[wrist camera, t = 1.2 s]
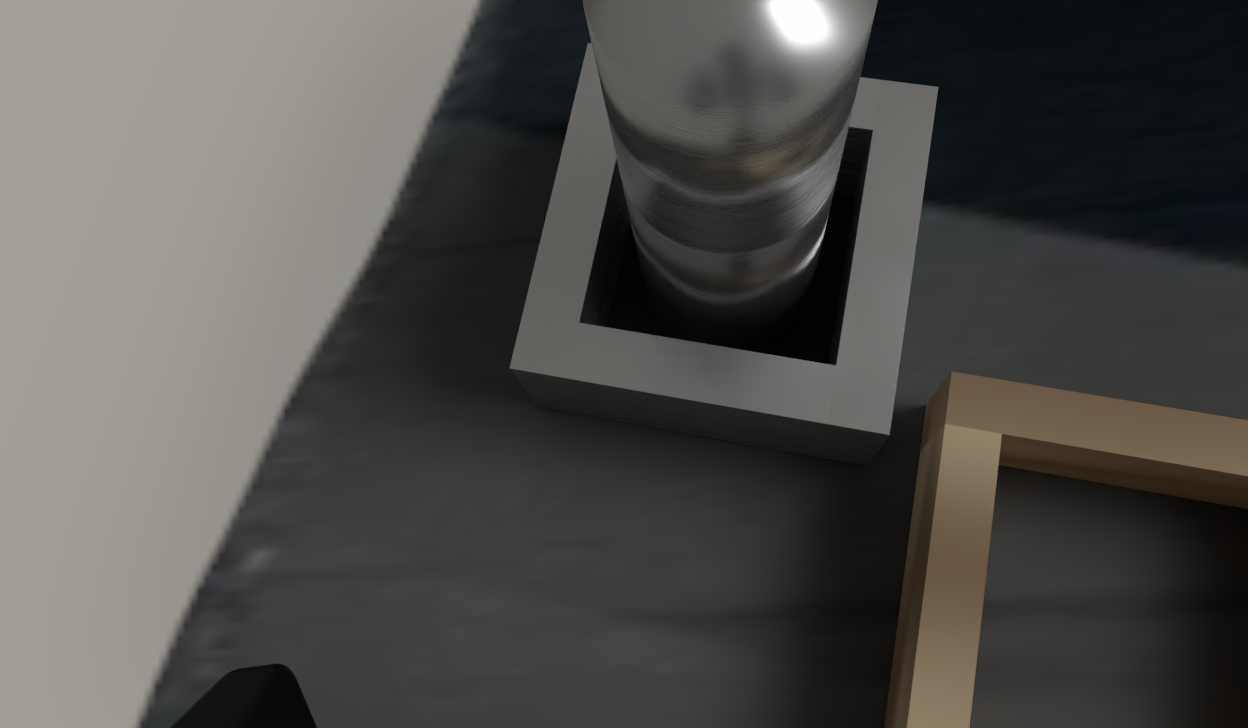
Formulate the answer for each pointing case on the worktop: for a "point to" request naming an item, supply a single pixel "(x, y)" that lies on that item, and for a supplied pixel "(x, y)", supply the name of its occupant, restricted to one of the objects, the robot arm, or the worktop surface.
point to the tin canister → (729, 151)
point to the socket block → (714, 375)
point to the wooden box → (964, 502)
